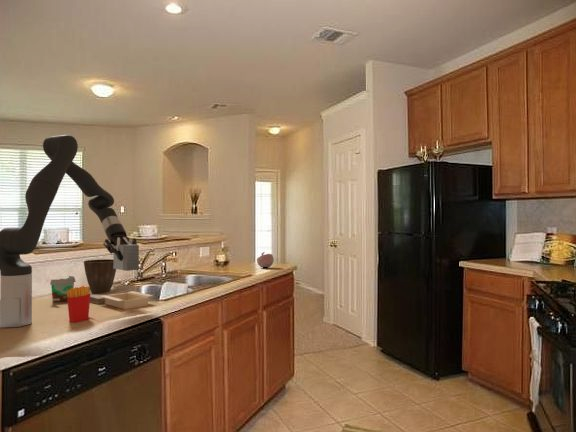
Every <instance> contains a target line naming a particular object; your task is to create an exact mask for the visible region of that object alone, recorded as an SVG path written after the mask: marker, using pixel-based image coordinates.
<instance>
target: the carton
mask: <svg viewBox="0 0 576 432" xmlns="http://www.w3.org/2000/svg"><path fill="white" fill-rule="evenodd" d="M99 297H102V298H105V303H104V304H105V305H108V306H111V307H115V308H119V309H123V310H126V309H127V310H128V309H133V308H139V307H145V306H149V298H152V297H154V295H152V294H148V293H143V292H138V291H134V290H131V291H128V292H124V293H119V294H115V295H108V296H106V295H103V296H99Z"/></svg>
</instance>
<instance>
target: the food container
mask: <svg viewBox="0 0 576 432" xmlns="http://www.w3.org/2000/svg"><path fill="white" fill-rule="evenodd" d="M75 283H76V277H75V276H73V275H69V276H68V277H67V278H59V279H50V284H49V285H51V287H50V288H51V297H52V303H65V302H66V303H68V301H67V297H68V295H67V292H66V291H67V290H68V289H69V290H70V289H71V288H75Z"/></svg>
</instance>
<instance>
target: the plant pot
mask: <svg viewBox="0 0 576 432" xmlns="http://www.w3.org/2000/svg"><path fill="white" fill-rule="evenodd" d="M113 265H114V258H113V259H111V258H110V259H107V258H106V259H100V258H99V259H87V260H83V267H84V268H83V269H84V272H85V276H86V281H87V285H88V286H89V291H90V292H91V295H92V294H100V293H107V292H111V289H112V286H113V284H114V280H115V277H116V273H117V269H113Z"/></svg>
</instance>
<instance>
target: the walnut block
mask: <svg viewBox="0 0 576 432" xmlns="http://www.w3.org/2000/svg"><path fill="white" fill-rule="evenodd" d="M115 294H120V293H119V292H115V291H110V292H107V293H100V294H92V293H91V294H90V303H93V304H95V305H103V304H105V298H102V297H99V296H103V295H106V296H108V295H115Z"/></svg>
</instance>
